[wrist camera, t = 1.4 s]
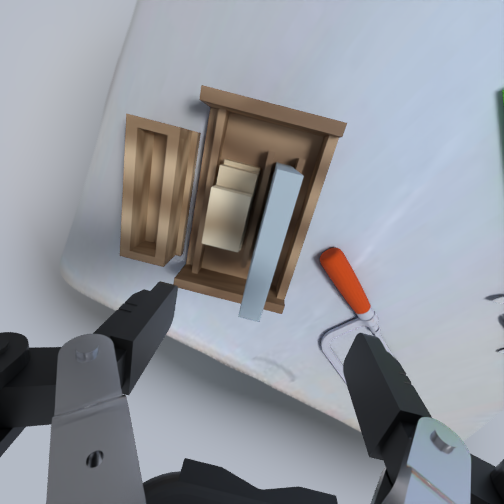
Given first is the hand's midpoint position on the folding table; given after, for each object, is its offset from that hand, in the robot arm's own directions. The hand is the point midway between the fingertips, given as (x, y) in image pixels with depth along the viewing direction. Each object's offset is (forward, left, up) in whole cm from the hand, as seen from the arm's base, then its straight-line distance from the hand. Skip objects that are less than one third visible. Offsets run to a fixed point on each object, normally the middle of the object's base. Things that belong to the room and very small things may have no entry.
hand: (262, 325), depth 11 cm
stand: (+1, -14, -24) cm, 28 cm away
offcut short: (0, -5, -18) cm, 19 cm away
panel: (0, 0, -22) cm, 22 cm away
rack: (0, -3, -24) cm, 24 cm away
